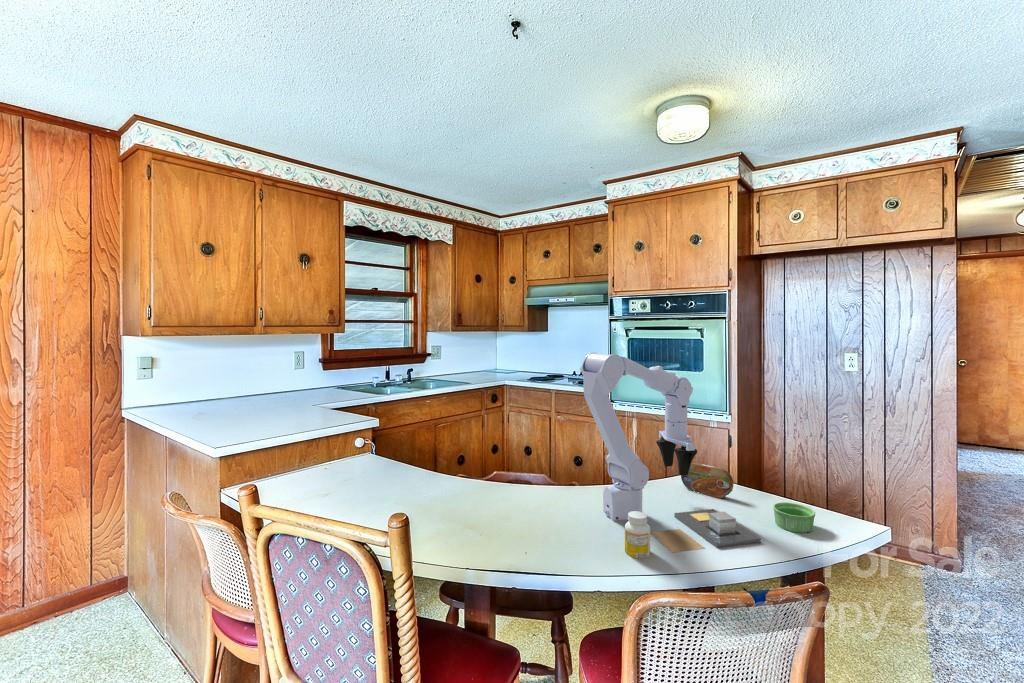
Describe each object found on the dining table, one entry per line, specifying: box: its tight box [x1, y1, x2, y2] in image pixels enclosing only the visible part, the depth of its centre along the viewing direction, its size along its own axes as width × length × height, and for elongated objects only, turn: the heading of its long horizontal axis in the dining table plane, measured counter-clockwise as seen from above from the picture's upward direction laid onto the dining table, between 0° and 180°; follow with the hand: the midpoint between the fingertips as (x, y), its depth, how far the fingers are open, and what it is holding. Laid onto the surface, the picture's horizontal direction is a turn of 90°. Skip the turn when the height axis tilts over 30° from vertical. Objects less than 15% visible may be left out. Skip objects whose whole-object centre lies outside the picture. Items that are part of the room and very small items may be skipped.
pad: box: [650, 528, 706, 553], centre depth 108 cm, size 8×10×2 cm
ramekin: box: [772, 501, 816, 534], centre depth 118 cm, size 9×9×4 cm
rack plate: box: [673, 508, 762, 549], centre depth 113 cm, size 11×17×3 cm, turn 12°
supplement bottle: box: [624, 511, 651, 559], centre depth 102 cm, size 5×5×10 cm
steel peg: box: [709, 511, 737, 537], centre depth 110 cm, size 4×4×6 cm
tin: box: [680, 462, 734, 499], centre depth 140 cm, size 15×3×8 cm, turn 42°
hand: (675, 470), depth 129 cm, fingers open, 7 cm apart
